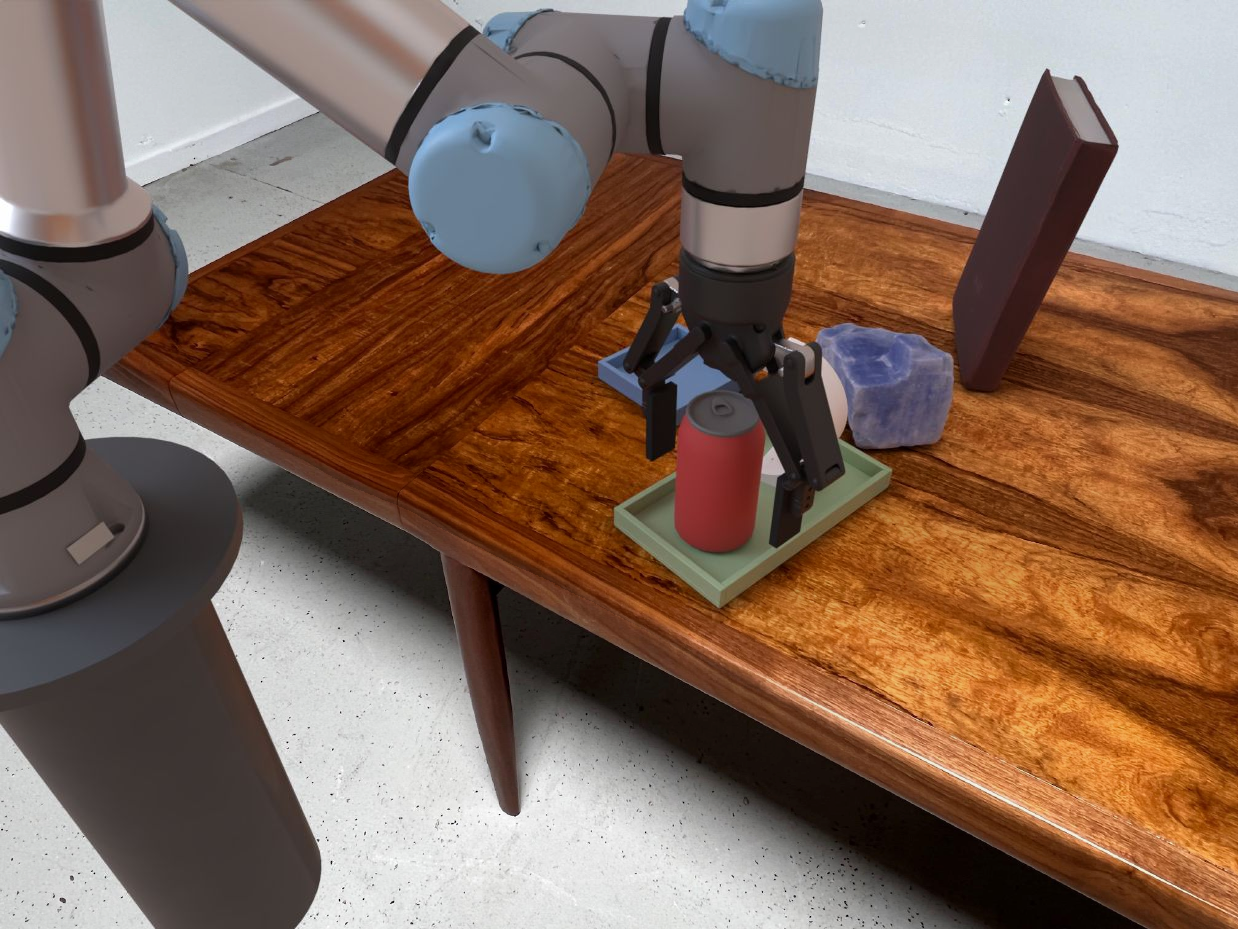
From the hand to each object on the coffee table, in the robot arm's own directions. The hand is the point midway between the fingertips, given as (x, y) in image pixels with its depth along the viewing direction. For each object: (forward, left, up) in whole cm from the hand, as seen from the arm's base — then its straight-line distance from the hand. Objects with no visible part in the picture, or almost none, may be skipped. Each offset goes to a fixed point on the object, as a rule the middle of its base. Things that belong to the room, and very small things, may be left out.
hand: (719, 493), depth 72 cm
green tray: (+5, 0, -4) cm, 7 cm away
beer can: (0, 0, -4) cm, 4 cm away
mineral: (+24, +2, -5) cm, 24 cm away
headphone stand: (+10, 0, -4) cm, 11 cm away
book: (+41, 0, -5) cm, 41 cm away
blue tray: (+13, +18, -4) cm, 23 cm away
